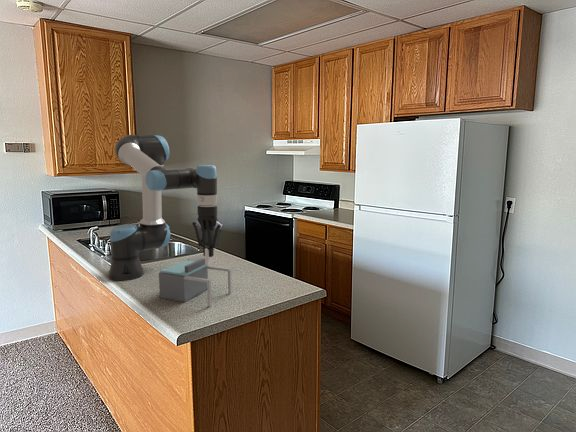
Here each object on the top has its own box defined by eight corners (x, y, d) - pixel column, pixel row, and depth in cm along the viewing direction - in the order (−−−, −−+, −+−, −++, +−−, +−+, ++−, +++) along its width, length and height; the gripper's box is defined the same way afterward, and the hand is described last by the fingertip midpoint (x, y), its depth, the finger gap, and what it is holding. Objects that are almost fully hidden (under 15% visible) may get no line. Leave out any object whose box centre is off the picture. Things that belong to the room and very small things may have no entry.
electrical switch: (192, 279, 186) (190, 259, 185) (185, 277, 189) (183, 258, 188) (208, 274, 193) (206, 255, 192) (201, 273, 196) (199, 254, 195)
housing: (160, 298, 162) (158, 272, 161) (184, 285, 177) (183, 262, 175) (210, 307, 154) (209, 280, 152) (231, 293, 168) (231, 268, 166)
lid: (160, 272, 160) (159, 264, 160) (185, 261, 175) (184, 254, 174) (185, 276, 156) (185, 268, 155) (209, 265, 170) (208, 257, 170)
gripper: (187, 205, 156) (189, 264, 160) (216, 208, 151) (217, 269, 155) (198, 202, 163) (200, 259, 167) (227, 205, 158) (227, 263, 162)
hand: (208, 264), depth 161 cm, fingers closed
